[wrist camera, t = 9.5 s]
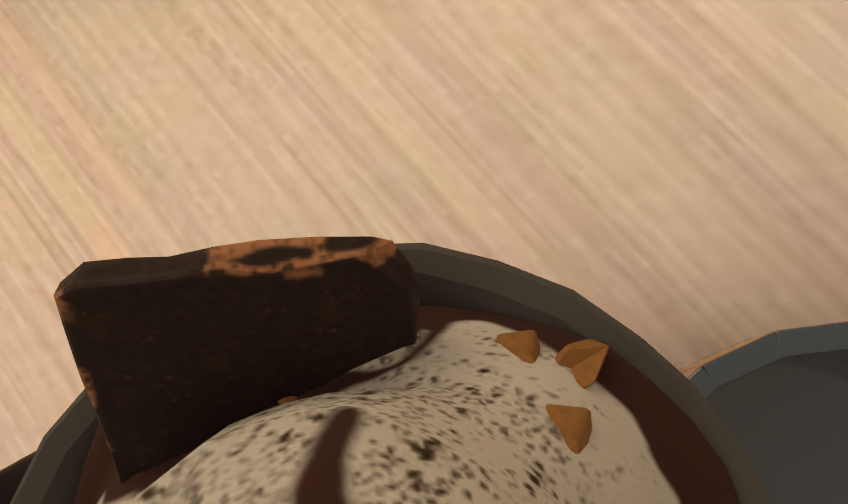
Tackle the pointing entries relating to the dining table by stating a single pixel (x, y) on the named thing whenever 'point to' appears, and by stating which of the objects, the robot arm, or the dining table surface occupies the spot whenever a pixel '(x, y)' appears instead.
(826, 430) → the dark grey round dish
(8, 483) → the robot arm
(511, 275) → the sundae
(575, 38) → the dining table surface
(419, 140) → the dining table surface
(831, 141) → the dining table surface
